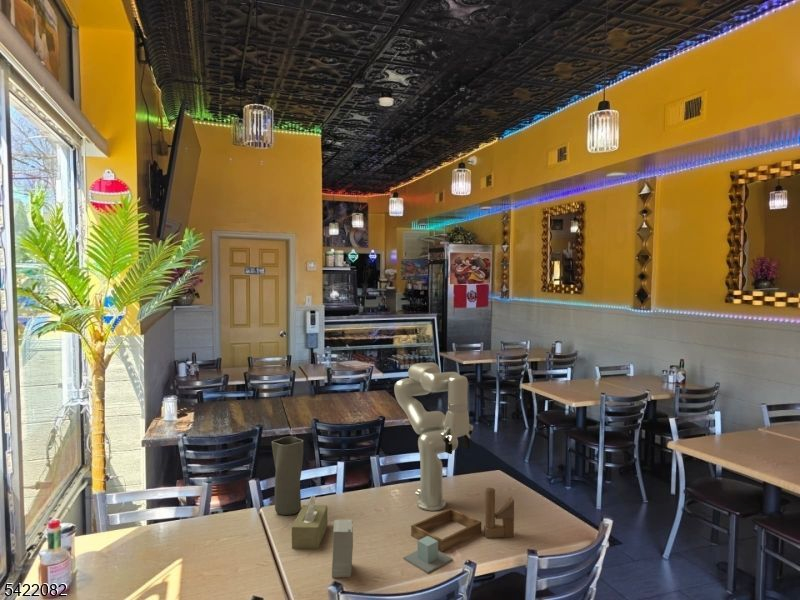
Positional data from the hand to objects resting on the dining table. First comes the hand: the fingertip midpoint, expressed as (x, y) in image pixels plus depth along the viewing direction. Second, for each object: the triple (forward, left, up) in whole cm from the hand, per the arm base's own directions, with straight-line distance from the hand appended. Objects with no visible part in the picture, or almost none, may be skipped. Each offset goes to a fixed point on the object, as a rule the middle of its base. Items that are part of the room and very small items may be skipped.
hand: (457, 450), depth 200 cm
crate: (+2, -8, -30) cm, 31 cm away
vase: (-56, -43, -30) cm, 77 cm away
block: (+10, -26, -29) cm, 41 cm away
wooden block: (+16, +6, -30) cm, 35 cm away
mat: (+10, -26, -30) cm, 41 cm away
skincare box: (-4, -52, -30) cm, 61 cm away
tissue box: (-32, -48, -30) cm, 65 cm away
